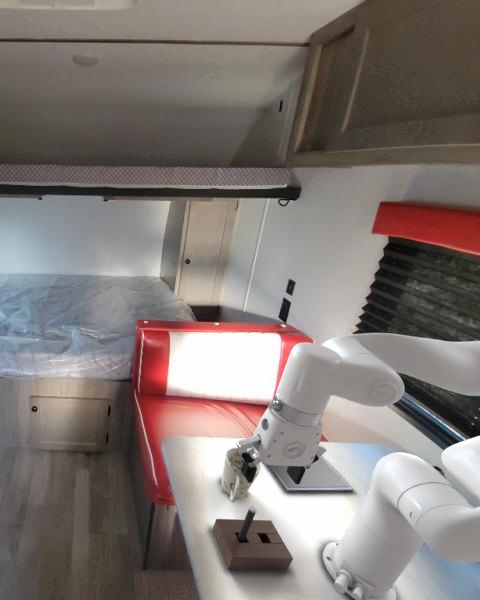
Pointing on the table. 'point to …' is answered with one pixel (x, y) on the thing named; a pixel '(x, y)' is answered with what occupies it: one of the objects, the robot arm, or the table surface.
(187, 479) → the table surface
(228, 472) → the mug
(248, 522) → the stylus
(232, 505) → the table surface
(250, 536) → the pen stand
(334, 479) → the tablet
